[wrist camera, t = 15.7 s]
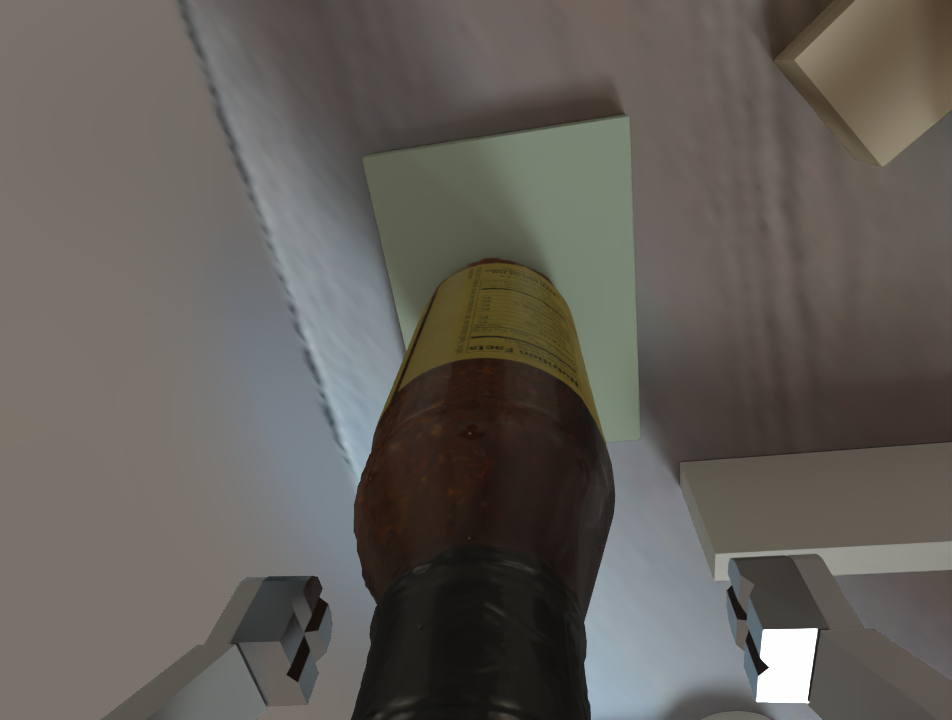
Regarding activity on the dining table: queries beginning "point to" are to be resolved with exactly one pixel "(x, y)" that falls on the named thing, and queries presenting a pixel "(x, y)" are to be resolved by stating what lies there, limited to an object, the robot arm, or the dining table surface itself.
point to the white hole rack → (736, 716)
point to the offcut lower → (875, 72)
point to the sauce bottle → (484, 509)
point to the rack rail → (827, 508)
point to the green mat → (525, 234)
